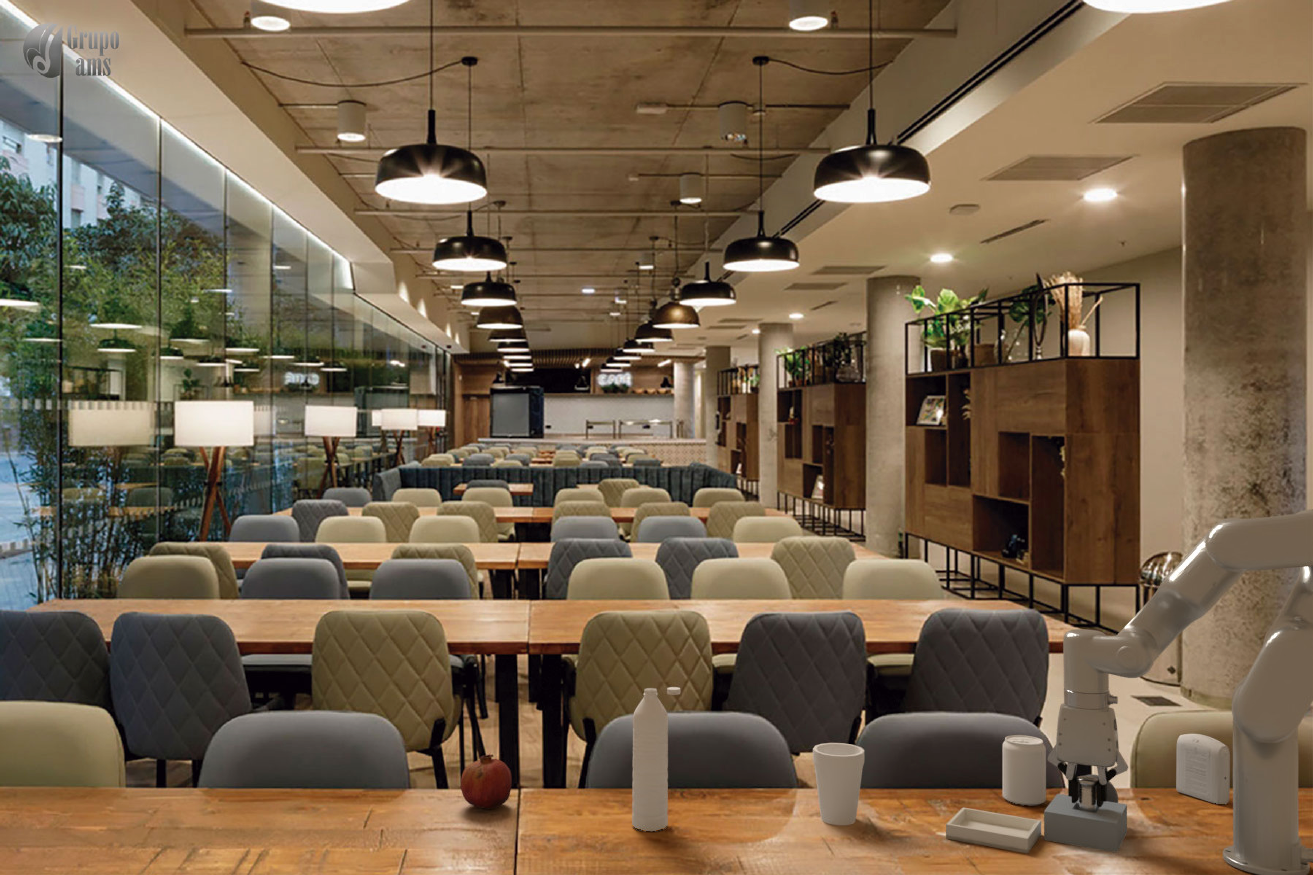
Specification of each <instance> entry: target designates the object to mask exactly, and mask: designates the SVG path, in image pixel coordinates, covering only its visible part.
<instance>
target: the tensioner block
mask: <svg viewBox="0 0 1313 875" xmlns="http://www.w3.org/2000/svg"><path fill="white" fill-rule="evenodd" d="M1084 776H1090V777H1094V778H1097V779H1098V780H1099V776H1098V774H1092V773H1091V774H1086V775H1085V774H1084ZM1127 833H1128V804H1126V803H1121V802H1120V803H1119V794H1118V792H1117V790H1116V788H1115V786H1114V785H1113V783H1112V782H1111V781H1108V782H1107V801H1106V802H1104V803H1103V805H1102V806H1101V807H1098V806H1097V800H1096V813H1094V812H1088V811H1082V810H1079V799H1078V801H1077V802H1076V803H1072V797H1070V796H1068V795H1067V794H1062V793H1057V794H1056V795H1055V796H1054V798H1053V799H1052V800H1051V801H1050V802H1049V804H1048V805H1047V807H1046V808H1045V809H1044V811H1043V840H1044V841H1049V842H1055V843H1061V844H1067V845H1072V846H1079V847H1084V848H1089V849H1094V850H1100V851H1107V852H1111V853H1118V852H1119V850H1120V848H1121V846H1122V843H1123V841H1124V839H1125V838H1126V836H1127Z"/></svg>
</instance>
